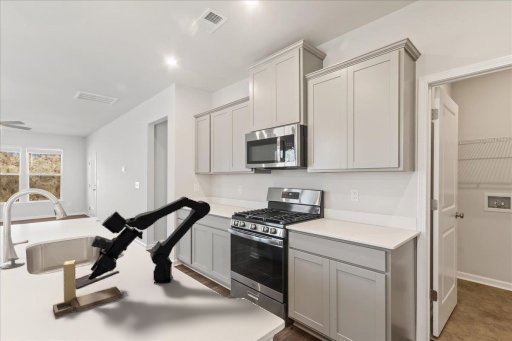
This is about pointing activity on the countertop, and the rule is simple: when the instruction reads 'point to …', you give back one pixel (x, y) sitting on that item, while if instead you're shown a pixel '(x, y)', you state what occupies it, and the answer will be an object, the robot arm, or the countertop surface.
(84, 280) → the chocolate bar
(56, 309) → the brown buckle strap
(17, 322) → the countertop surface
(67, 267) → the stub
